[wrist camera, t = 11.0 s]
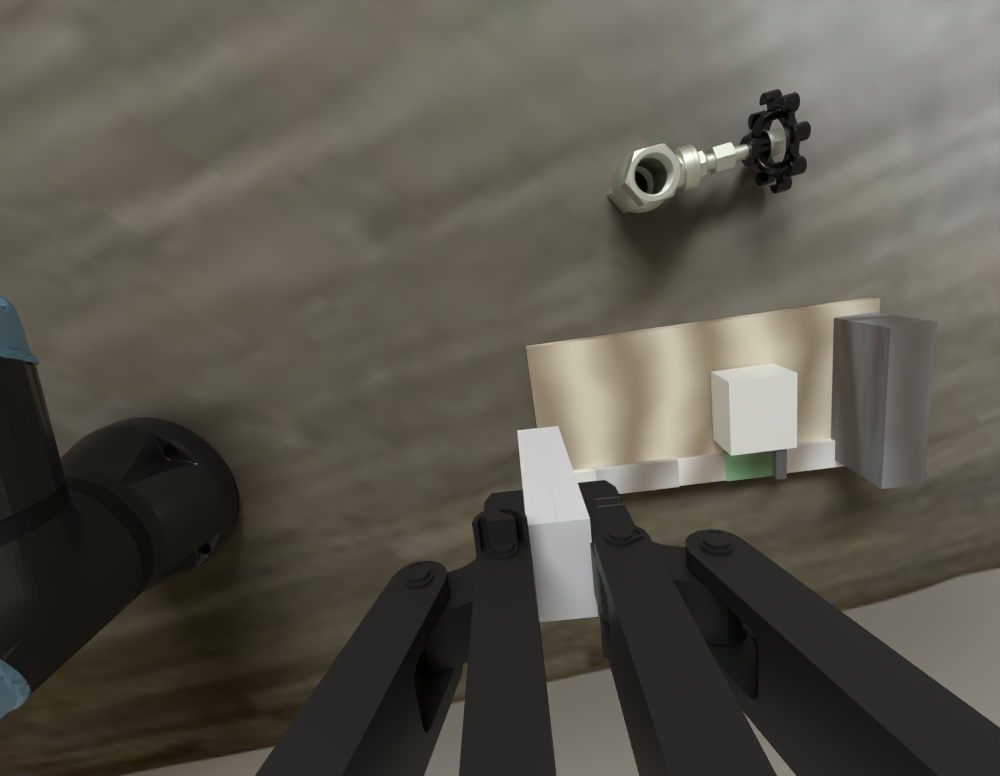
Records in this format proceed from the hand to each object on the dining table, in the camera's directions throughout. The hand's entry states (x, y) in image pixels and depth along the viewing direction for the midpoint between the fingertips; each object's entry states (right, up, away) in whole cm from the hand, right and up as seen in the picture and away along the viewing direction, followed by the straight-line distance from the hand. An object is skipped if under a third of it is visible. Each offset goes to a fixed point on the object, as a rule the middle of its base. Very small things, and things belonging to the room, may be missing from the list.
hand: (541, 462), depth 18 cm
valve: (+12, +19, +20) cm, 30 cm away
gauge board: (+16, +1, +24) cm, 29 cm away
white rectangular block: (+19, 0, +23) cm, 30 cm away
